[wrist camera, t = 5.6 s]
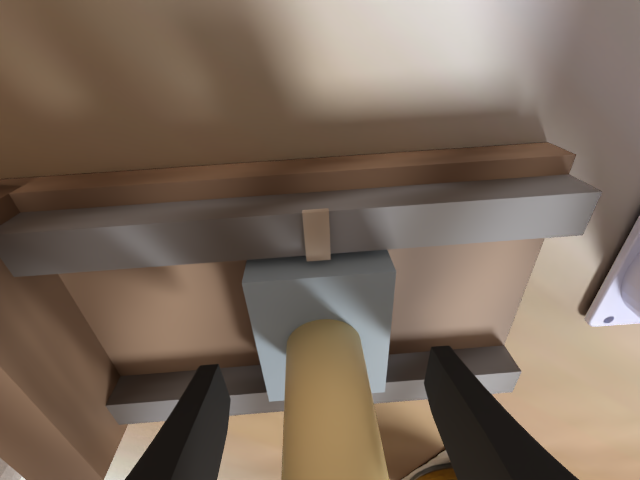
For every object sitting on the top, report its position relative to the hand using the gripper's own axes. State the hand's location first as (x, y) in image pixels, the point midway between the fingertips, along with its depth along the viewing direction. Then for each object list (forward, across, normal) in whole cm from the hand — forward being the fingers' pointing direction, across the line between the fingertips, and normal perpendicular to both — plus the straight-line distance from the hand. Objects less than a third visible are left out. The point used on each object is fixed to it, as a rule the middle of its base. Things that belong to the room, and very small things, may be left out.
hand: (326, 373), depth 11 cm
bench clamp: (+5, +2, 0) cm, 5 cm away
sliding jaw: (+3, 0, 0) cm, 3 cm away
